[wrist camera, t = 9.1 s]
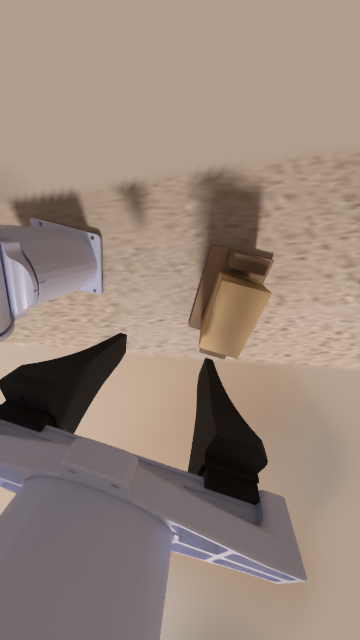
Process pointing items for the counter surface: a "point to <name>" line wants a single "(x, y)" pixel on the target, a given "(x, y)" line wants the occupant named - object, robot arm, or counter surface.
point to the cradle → (230, 263)
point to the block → (232, 313)
